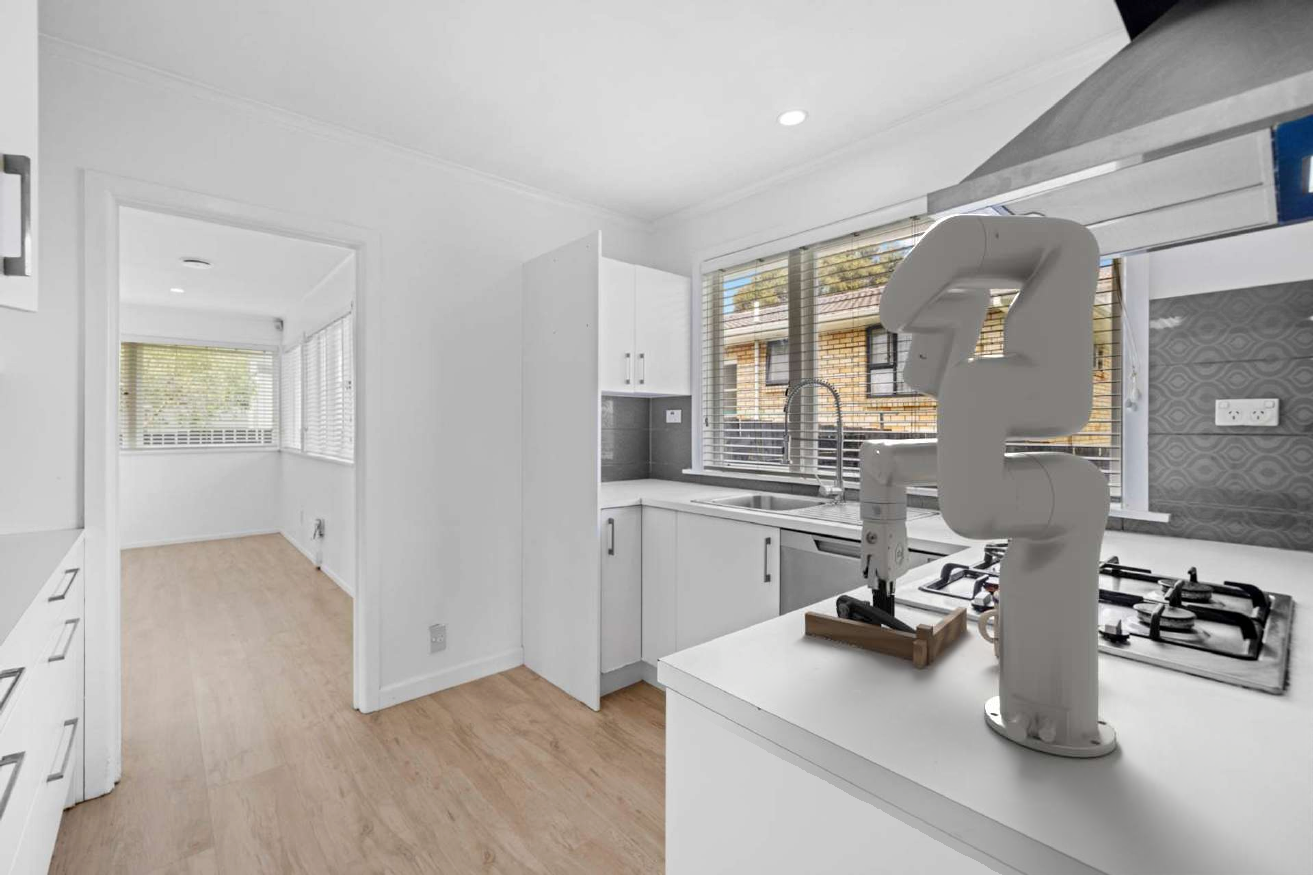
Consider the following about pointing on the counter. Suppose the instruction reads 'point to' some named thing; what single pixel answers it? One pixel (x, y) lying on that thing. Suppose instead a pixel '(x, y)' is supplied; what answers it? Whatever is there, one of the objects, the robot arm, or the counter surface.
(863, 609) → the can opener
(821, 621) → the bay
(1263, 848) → the counter surface
